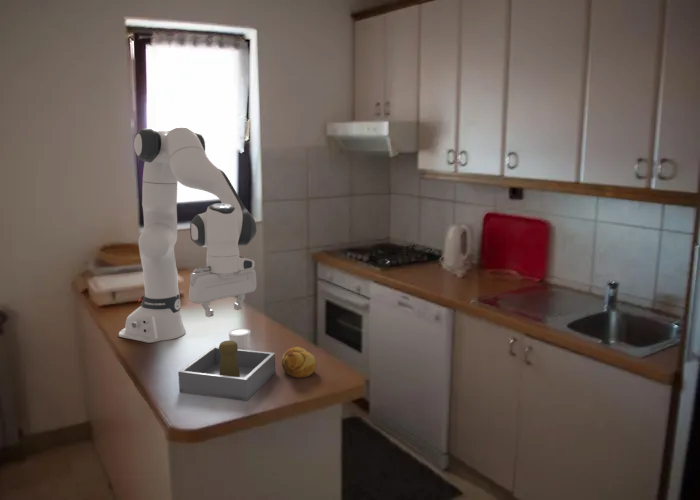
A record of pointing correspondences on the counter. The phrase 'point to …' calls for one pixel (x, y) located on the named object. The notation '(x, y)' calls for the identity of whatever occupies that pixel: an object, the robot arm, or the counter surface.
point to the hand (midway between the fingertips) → (223, 312)
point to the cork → (229, 359)
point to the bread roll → (298, 362)
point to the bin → (208, 382)
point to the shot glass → (240, 338)
